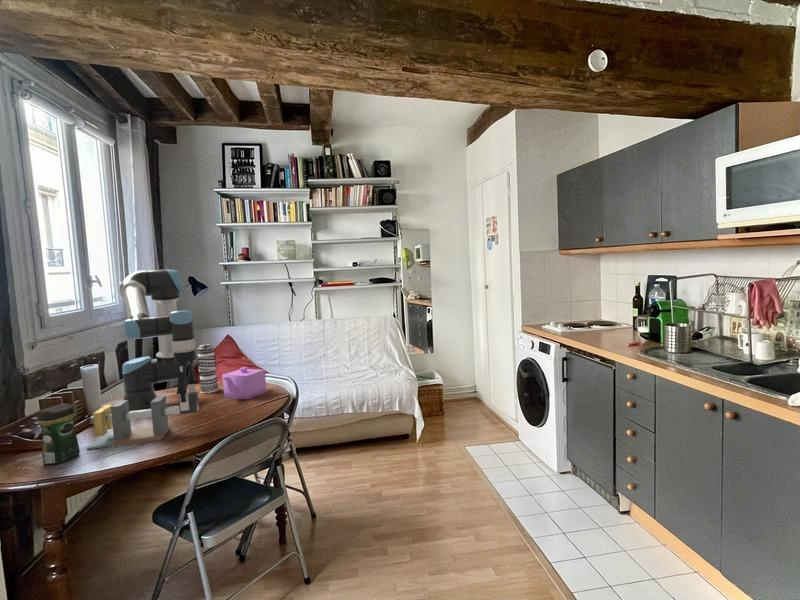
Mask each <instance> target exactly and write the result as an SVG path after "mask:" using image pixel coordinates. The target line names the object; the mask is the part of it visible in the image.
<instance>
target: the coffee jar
mask: <svg viewBox="0 0 800 600" xmlns="http://www.w3.org/2000/svg"><path fill="white" fill-rule="evenodd" d="M75 411H76V410H75V408H74V405H73V404H72V403H67V402H66V403H60V404H57V405H53V406H50V407H46V408H44V409H41V410H39V411H38V412H37V424H38V425H39V426H40V429H41V436H42V437H41V439H42V442H41V443H42V447H41V449H42V450H41V451H42V453H41V454H42V456H41V457H42V463H43V464H45V465H47V464H52V465H57V464H58V463H59V464H61V462H62V463H64V461H65V462H67V461H69V460H71V459H73V458H75V457H77V456H79V455H80V453H81V451H80V445H79V441H78V437H77V433H76V429H75V417H76V412H75ZM66 460H67V461H66Z"/></svg>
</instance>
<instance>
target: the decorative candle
mask: <svg viewBox="0 0 800 600" xmlns="http://www.w3.org/2000/svg"><path fill="white" fill-rule="evenodd" d="M214 347H215V346H214V345H213V344H211V343H202V344H200V345H198V346H197V348H196V349H197V355H196V359H197V361H196V362H197V366H198V368H197V369H198V371H199V380H198V381H199V388H200V394H201V393H209V394H212V393H211V392H214V393H216V392H215V391H217V390H218V391H219V389H218V388H219V386H218V385H219V384H218V377H217V372H216V369H217V364H216V363H217V362H216V360H217V358H216V357H217V355H216V354H215V352H214V351H215V348H214ZM218 391H217V392H218Z"/></svg>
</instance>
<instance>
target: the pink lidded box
mask: <svg viewBox="0 0 800 600" xmlns="http://www.w3.org/2000/svg"><path fill="white" fill-rule="evenodd" d="M266 379H267V378H266V369H255V368H254V369H253V368H248V366H243V367H240V368H239V369H237V370H233V371H230V372H228V373H227V372H226V373H223V374H222V385H223V396H224V397H227V398H226V399H231V398H239V399H238V400H243V399H249V400H251V399H250V398H252V399H254V398H256V397H255V396H257V397H259V396H261V395H260V394H262V395H263V393H264V394H265V392H266V393H268V392H267V391H268V390H267V381H266ZM258 395H259V396H258ZM253 397H254V398H253Z"/></svg>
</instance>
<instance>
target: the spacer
mask: <svg viewBox="0 0 800 600" xmlns="http://www.w3.org/2000/svg"><path fill="white" fill-rule="evenodd" d="M113 405H114V404H112V403H111V404H105V405H103V406H102V407H100V408H99V409H98V410H96V411H95V412H93V413H92V416H93V418H94V424H93V427H94V434H95V435H94V436H95V437H96V438H97V437H100V436H104V435H107V433H108V430H113V425H112V422H106V416H107V415H108V414H111V406H113Z"/></svg>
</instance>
